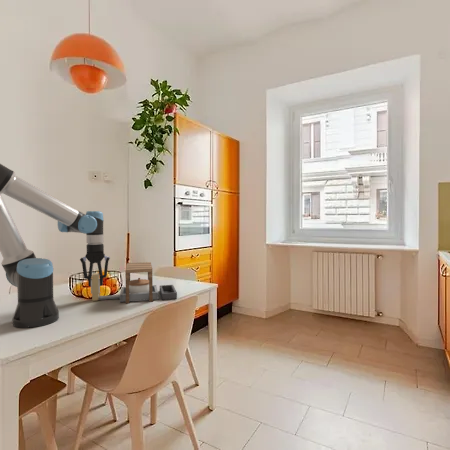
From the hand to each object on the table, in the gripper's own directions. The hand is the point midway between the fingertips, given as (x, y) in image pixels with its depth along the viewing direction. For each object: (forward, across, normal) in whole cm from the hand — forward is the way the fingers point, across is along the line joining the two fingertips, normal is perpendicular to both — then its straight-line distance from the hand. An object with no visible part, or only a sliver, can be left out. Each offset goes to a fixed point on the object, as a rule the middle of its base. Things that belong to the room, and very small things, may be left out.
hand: (95, 292), depth 149 cm
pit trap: (+4, -34, 0) cm, 34 cm away
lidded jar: (+4, -20, 0) cm, 20 cm away
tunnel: (+4, -20, 0) cm, 20 cm away
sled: (+3, -14, 0) cm, 14 cm away
